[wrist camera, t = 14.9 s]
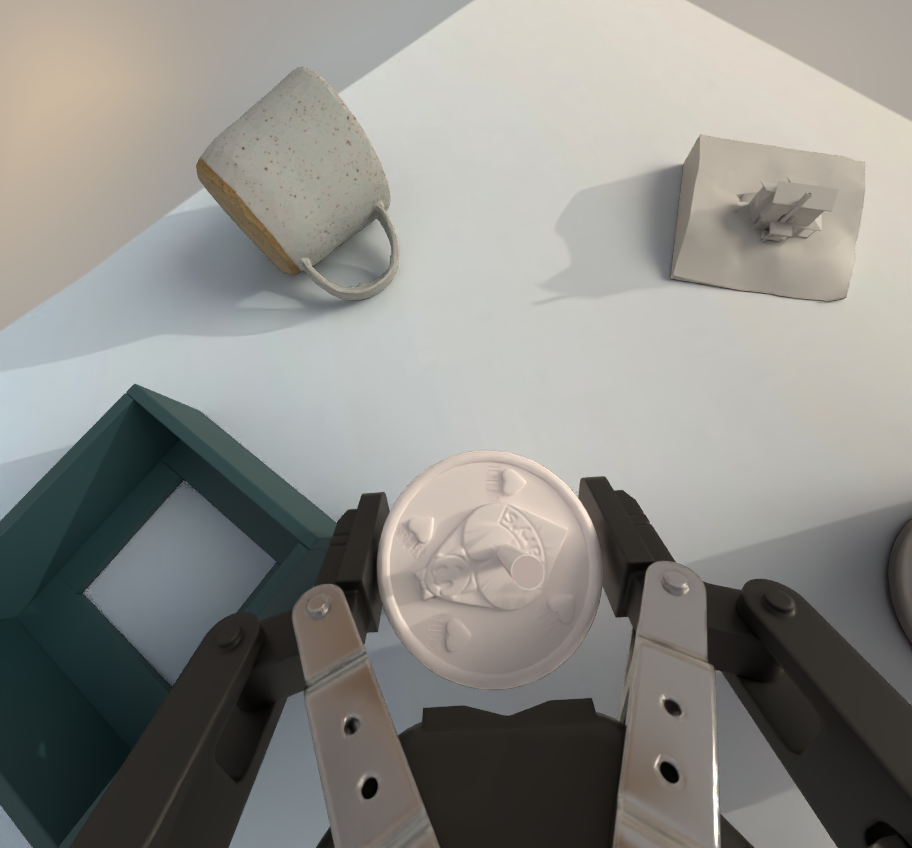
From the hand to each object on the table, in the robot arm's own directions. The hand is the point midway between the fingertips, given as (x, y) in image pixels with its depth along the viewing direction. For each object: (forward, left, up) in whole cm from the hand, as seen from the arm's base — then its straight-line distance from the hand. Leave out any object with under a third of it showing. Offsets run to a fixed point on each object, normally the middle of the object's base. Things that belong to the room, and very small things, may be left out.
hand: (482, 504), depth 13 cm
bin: (+12, -11, -7) cm, 18 cm away
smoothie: (+1, +1, -8) cm, 8 cm away
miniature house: (-25, +4, -8) cm, 26 cm away
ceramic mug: (-9, -18, -8) cm, 21 cm away
